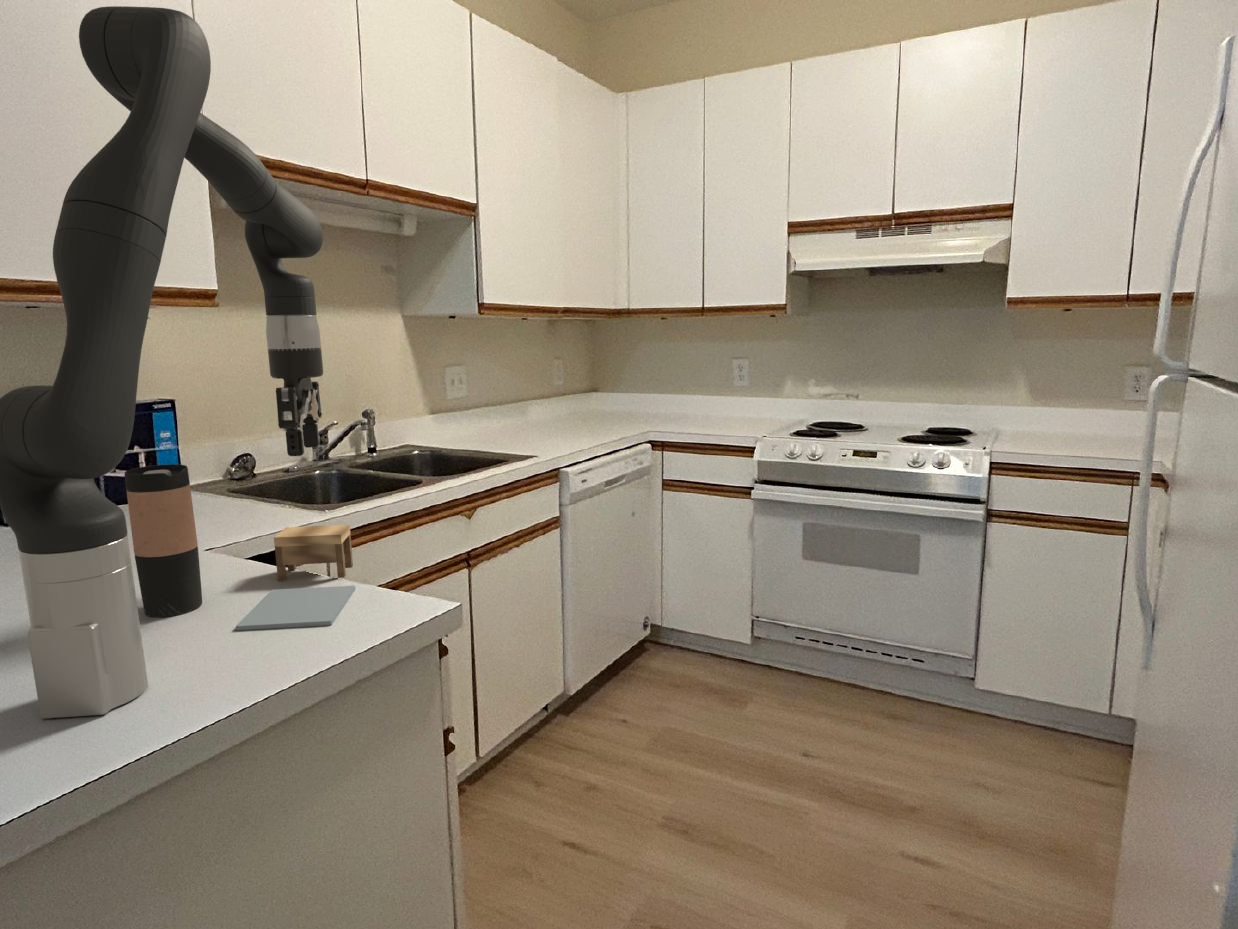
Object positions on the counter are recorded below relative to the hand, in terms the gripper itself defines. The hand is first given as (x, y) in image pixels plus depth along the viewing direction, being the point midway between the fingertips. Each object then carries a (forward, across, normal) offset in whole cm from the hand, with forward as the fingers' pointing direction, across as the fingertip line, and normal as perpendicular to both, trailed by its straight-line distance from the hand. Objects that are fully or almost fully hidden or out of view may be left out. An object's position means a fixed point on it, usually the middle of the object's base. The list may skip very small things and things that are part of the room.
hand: (304, 451), depth 118 cm
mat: (+20, -16, -2) cm, 26 cm away
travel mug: (+20, -13, +16) cm, 29 cm away
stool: (+20, 0, 0) cm, 20 cm away
